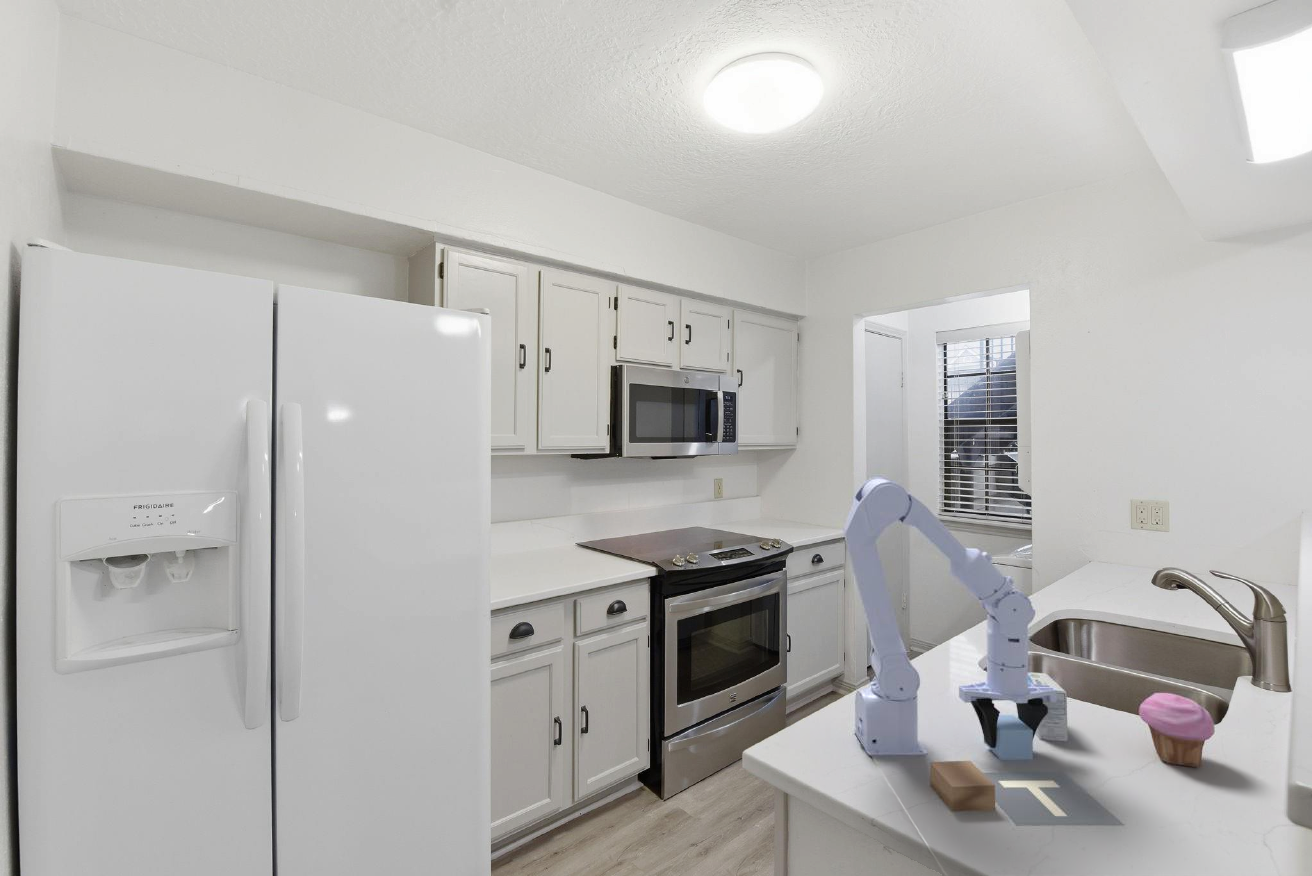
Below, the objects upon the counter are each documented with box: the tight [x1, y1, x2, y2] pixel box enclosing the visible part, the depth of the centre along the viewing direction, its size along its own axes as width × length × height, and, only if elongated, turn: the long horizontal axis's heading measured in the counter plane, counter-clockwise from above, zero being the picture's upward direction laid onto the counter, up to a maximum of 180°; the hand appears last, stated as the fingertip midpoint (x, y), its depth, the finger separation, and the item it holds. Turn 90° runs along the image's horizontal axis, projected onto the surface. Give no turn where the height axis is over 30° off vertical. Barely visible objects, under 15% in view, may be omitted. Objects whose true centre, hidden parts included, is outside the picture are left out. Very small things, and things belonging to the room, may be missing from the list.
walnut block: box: [929, 760, 996, 812], centre depth 85 cm, size 6×6×4 cm
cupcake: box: [1138, 692, 1215, 768], centre depth 94 cm, size 9×9×10 cm
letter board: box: [981, 771, 1125, 827], centre depth 84 cm, size 14×12×1 cm
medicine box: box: [1028, 671, 1069, 742], centre depth 103 cm, size 8×4×9 cm, turn 168°
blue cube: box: [983, 714, 1034, 761], centre depth 96 cm, size 5×5×5 cm
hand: (1007, 744), depth 96 cm, fingers closed on blue cube, 5 cm apart
